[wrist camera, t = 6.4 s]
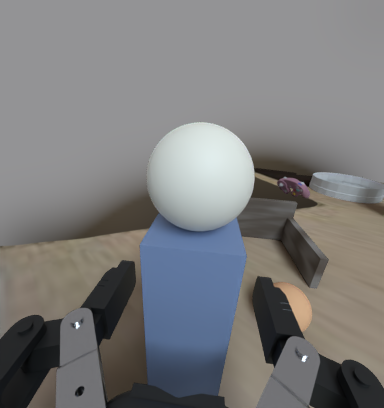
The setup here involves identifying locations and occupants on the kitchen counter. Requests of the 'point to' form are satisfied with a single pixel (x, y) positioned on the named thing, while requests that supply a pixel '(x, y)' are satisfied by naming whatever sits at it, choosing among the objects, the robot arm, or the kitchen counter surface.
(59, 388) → the robot arm
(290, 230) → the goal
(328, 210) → the kitchen counter surface
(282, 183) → the video game controller
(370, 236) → the kitchen counter surface
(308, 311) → the ball
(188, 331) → the figure
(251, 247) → the kitchen counter surface
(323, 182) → the dish
